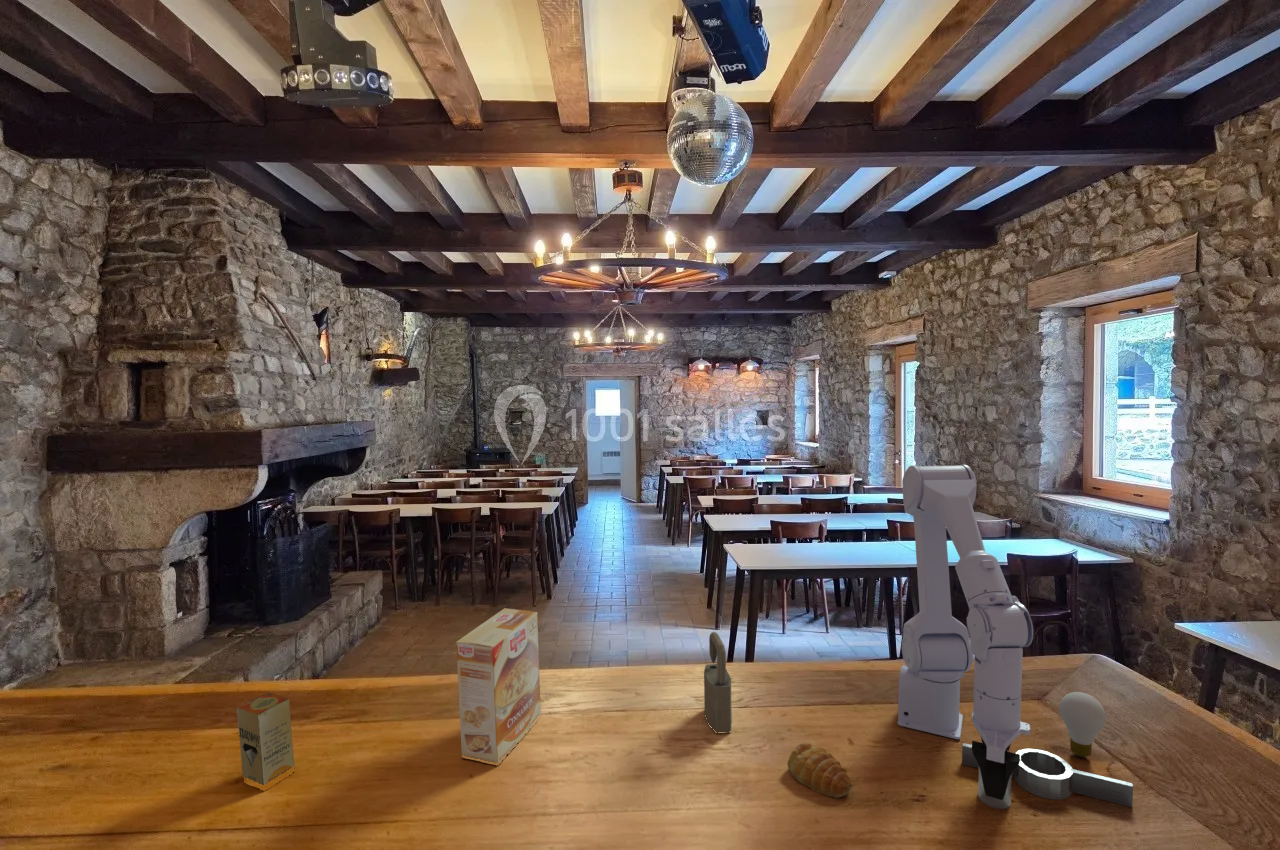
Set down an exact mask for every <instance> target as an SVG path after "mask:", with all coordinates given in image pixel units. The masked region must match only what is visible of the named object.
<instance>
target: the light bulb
mask: <svg viewBox="0 0 1280 850" xmlns="http://www.w3.org/2000/svg"><path fill="white" fill-rule="evenodd" d="M1058 706H1059V707H1058V709H1059V715H1060V718H1061V720H1062V721H1063V723H1064V725H1065V727H1066V729H1067V732H1068V735H1069V737H1070V738H1069V744H1070V752H1072V753H1073V754H1074V755H1076V756H1077V757H1078V758H1081V759H1082V758H1086V757H1090V756H1091V755H1092V746H1093V743H1094V741H1095V739H1096V736H1097V735H1098V733H1099V732H1100V731H1102V729H1103V728H1104V727H1105V725H1106V722H1107V717H1106V714H1107V713H1106V712H1105V708H1104V707H1103V705H1102V704H1101V702H1100V701H1099V700H1098V699H1096V698H1095V696H1093V695H1091V694H1088V693H1086V692H1082V691H1072V692H1069V693H1066V695H1065V696H1063V697H1062V698H1061V700H1060V703H1059V705H1058Z"/></svg>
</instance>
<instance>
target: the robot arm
mask: <svg viewBox="0 0 1280 850" xmlns="http://www.w3.org/2000/svg"><path fill="white" fill-rule="evenodd" d="M901 483H902V485H901V486H902V500H903V501H902V502H903V507H904V513H906V514H908V515H910V516H912V518H913V524H914V525H913V526H914V528H913V529H914V539H915V557H916V571H917V573H916V574H917V588H918V589H917V590H918V603H919V604H918V605H919V607H918V608H919V612H918V613H917V614H915V615H914V616H913V617H911V618H910V619H908V620H907V621H906V622H905V623H904V624H903V628H902V631H903V633H902V636H903V637H902V640H901V654H902V658H903V661H904V664H905V665H904V664H903V665H901V667H900V671H899V680H898V699H897V708H898V711H897V712H898V715H897V717H898V718H897V725H898V726H900V727H903V728H904V727H905V728H909V729H912V730H916V731H921V732H925V733H930V734H933V735H938V736H943V737H946V738H951V739H955V740H960V739H961V735H962V729H963V727H962V726H963V719H964V715H963V714H962V713H960V700H961V698H960V696H961V694H960V691H961V690H960V689H961V679H964V678H965V673H966V672H969V671H970V670H971V668H972V666H973V665H974V667H973V670H974V671H973V672H974V673H973V709H972V713H971V723H972V724H973V727H974V728H975V730H976V731H977V732H978V734H979V736H980V739H981V742H980V741H976V740H972V741H971V745H972V752H973V755H974V757H975V759H976V760H977V763H978V765H979V768H980V771H981V776H982V781H983V787H984V791H985V794H986V796H989V797H993V798H996V799H1000V800H1003V798H1004V796H1005V793H1006V789H1007V785H1008V782H1009V779H1010V776H1011V774H1012V772H1013V771H1014V770H1015V769H1016V768H1017V766H1018V765H1019V762H1020V755H1019V754H1015V753H1016V752H1011V751H1010V747H1011V746H1012V743H1013V742H1014V741H1015V740H1016V739H1017V738H1018V737H1019V736H1020V735H1025V736H1030V735H1031V725H1030V724H1029V723H1027V722H1023V721H1021V719H1022V718H1021V716H1022V715H1021V714H1022V681H1023V655H1024V654H1023V651H1024V650H1023V649H1024V648H1028V647H1029V646H1030V645H1031V644H1032V642H1033V639H1034V626H1033V621H1032V618H1031V615H1030V612H1029V610H1028V609H1027V608H1026V606H1025V605H1024V604H1023V603H1021V602H1020V600H1019V598H1018V597H1017V596H1016V595H1012V593H1011V591H1010V589H1009V586H1008V584H1007V581H1006V578H1005V576H1004V573H1003V571H1002V569H1001V565H1000V563H999V561H998V559H997V557H996V556H994V555H992V554H990V553H988V552H986V548H985V546H984V542H983V538H982V536H981V532H980V528H979V524H978V522H977V521H978V520H977V517H976V514H975V510H974V507H973V506H974V505H975V504H974V503H975V501H976V498H977V485H978V484H977V479H976V475H975V472H974V471H973V470H972V469H971V467H970V466H969V465H967V464H960V465H922V466H921V465H920V466H917V465H909V466H908V467H907V468H906V470H905V471H904V475H903V476H902V481H901ZM947 533H948V535H949V538H950V539H951V542H952V544H953V545H954V547H955V550H956V552H957V554H958V557H959V559H958V561H957V563H956V565H955V571H956V575H957V576H958V580H959V583H960V586H961V588H962V592H963V594H964V597H965V599H966V603H967V606H968V609H969V611H968V612H967V613H968V614H967V616H966V625H967V626H965V624H963V623H962V622H961V621H960V620H958V619H957V618H955V617H954V616H953V615H952V612H953V611H952V597H951V588H950V587H951V583H950V569H949V557H948V541H947V539H948V538H947ZM1006 749H1008V750H1009V751H1010V752H1007V751H1005V750H1006ZM979 768H978V769H979Z"/></svg>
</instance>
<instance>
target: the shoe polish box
mask: <svg viewBox="0 0 1280 850" xmlns="http://www.w3.org/2000/svg"><path fill="white" fill-rule="evenodd" d="M236 715H237V726H238V737H239V738H238V739H239V749H240V760H241V761H240V762H241V770H242V777H243V776H244V777H245V778H248V779H250V780H253V781H254V782H258V783H259V784H262V785H265V784H267V783H268V782H270V781H271V780H273V779H275V778H276V777H278V776H279V775H281V774H283V773H284V772H286V771H287V770H289V769H291V768H292V767H293V766H294V767H295V759H294V748H293V747H294V746H293V735H292V731H293V730H292V720H291V709H290V698H287V697H283V696H280V695H277V694H274V693H272V692H266V693H264V694H262V695H260V696H258V697H256V698H254V699H252V700H250V701H248V702H246V703H244V704H241V705H240V706H238V707H236Z"/></svg>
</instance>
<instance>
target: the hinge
mask: <svg viewBox="0 0 1280 850" xmlns="http://www.w3.org/2000/svg"><path fill="white" fill-rule="evenodd" d="M961 748H962V749H961V750H962V751H961V764H962V765H963V766H968V767H972V768H974V769H975V768H976V769H979V765H978V763H977V760H976V759H975V757H974V755H973V752H972V744H970V743H965V742H962V747H961ZM1014 753H1015V754H1019V755H1020V762H1019V765H1018V766H1017V768H1016V769H1015V770H1014V771H1013V772H1012V777H1011V778H1013V779H1014V781H1015V782H1016V784H1017V785H1018V786H1019V787H1021V788H1022V789H1023V790H1025V791H1026V792H1028V793H1030V794H1033V795H1035V796H1036V797H1040V798H1044V799H1048V800H1059V801H1060V800H1061V801H1062V800H1065V799H1068V798H1070V796H1071V795H1072V794H1078V795H1080V796H1081V795H1082V796H1085V797H1090V798H1093V799H1098V800H1101V801H1106V802H1109V803H1115V804H1118V805H1122V806H1126V807H1129V808H1133V802H1134V801H1133V799H1134V798H1133V797H1134V785H1133V783H1132V782H1128V781H1125V780H1121V779H1116V778H1112V777H1109V776H1108V777H1107V776H1103V775H1099V774H1095V773H1091V772H1087V771H1082V770H1078V769H1074V768H1073V767H1072V766H1071V765H1070V763H1068V761H1067V760H1065V759H1064V758H1062V757H1061V756H1060V755H1056V754H1054V753H1051V752H1049V751H1046V750H1042V749H1037V748H1023V749H1019V750H1017V751H1016V752H1014Z"/></svg>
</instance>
